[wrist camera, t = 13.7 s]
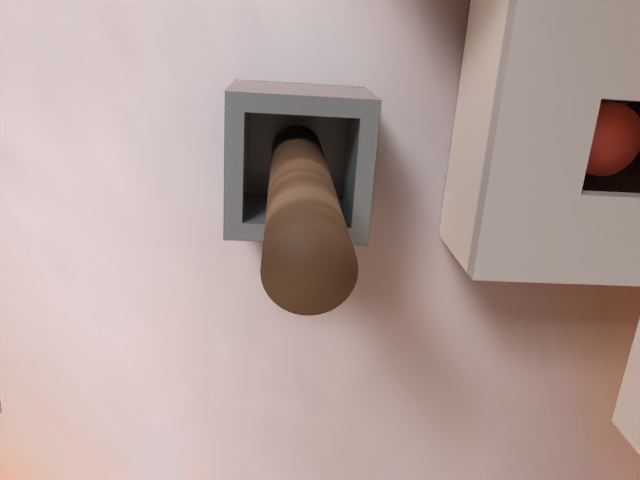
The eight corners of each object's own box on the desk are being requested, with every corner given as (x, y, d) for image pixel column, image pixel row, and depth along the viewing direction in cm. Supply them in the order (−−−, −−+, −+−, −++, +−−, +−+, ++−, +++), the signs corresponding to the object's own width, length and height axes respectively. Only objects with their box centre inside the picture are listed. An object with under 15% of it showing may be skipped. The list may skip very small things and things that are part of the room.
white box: (471, -10, 32) (520, -19, 26) (717, 8, 34) (823, 3, 27) (438, 235, 37) (472, 280, 30) (655, 244, 38) (733, 289, 32)
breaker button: (554, 94, 33) (579, 101, 31) (620, 98, 34) (651, 105, 31) (541, 162, 35) (565, 174, 32) (605, 165, 35) (633, 177, 32)
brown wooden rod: (272, 124, 34) (261, 223, 17) (322, 126, 34) (361, 226, 17) (271, 173, 35) (259, 314, 18) (320, 175, 35) (354, 316, 18)
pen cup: (235, 79, 33) (225, 91, 27) (364, 87, 34) (381, 100, 28) (233, 204, 36) (223, 240, 30) (353, 209, 36) (367, 245, 30)
